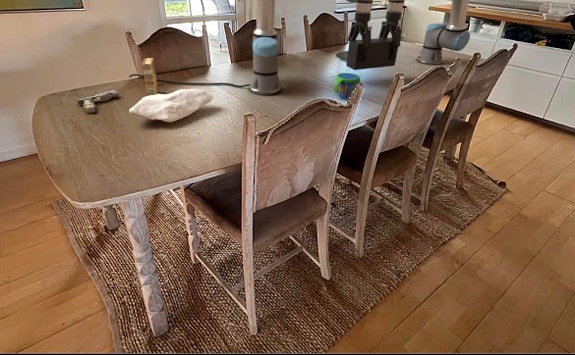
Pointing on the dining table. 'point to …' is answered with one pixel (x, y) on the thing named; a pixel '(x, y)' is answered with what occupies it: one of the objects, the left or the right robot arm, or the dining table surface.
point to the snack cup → (346, 84)
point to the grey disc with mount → (342, 55)
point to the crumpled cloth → (171, 104)
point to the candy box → (150, 76)
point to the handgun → (95, 100)
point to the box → (370, 54)
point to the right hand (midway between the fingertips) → (386, 57)
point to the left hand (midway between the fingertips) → (356, 59)
